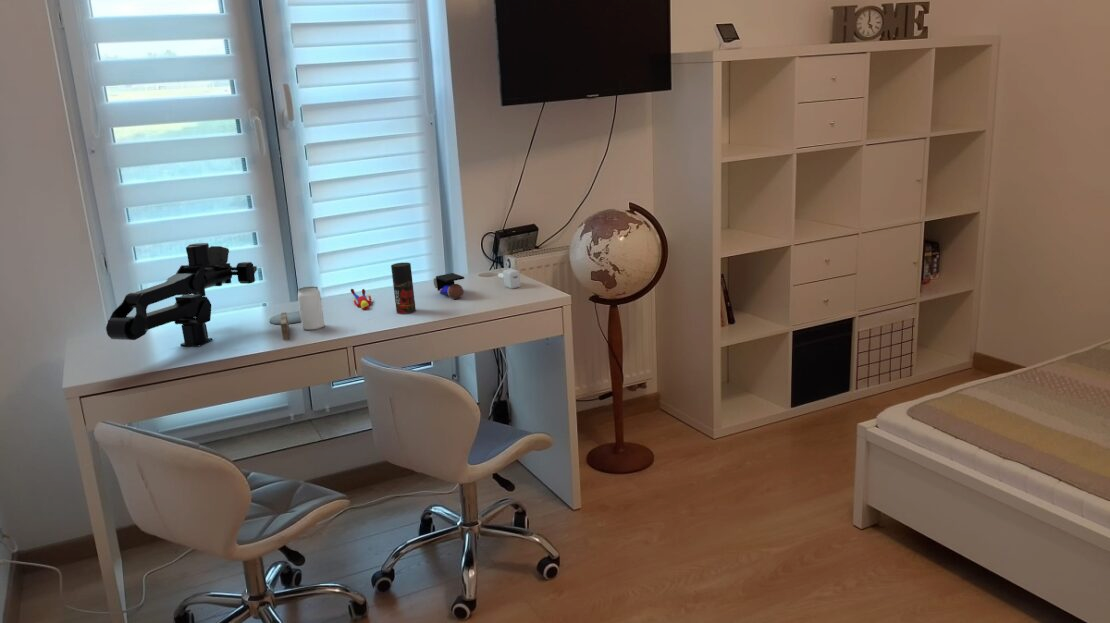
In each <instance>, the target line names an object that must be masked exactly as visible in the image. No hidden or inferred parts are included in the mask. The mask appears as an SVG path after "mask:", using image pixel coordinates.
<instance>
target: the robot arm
mask: <svg viewBox="0 0 1110 623" xmlns="http://www.w3.org/2000/svg"><path fill="white" fill-rule="evenodd" d="M185 250H186V255H187V261H188V264H187V265H180V266H179V268H178V269H177V271H176V272H175V274H173V275H171V276H170V277H168V278H167V279H166V281H165V282H162V283H159V284H156V285H153V286H150V287H147V288H144V289H142V290H138V291H135V292H129V293H127V294H126V295H125V296H124V299H123V300H122V302H121V303H120V305H119V306H117V307H116V309H115V310H113V312H112V313H111V315H110V317H109V319H108V320H107V323H106V327H105V331H106V335H107V336H108V337H109V338H110V339H111V340H119V341H121V340H124V341H127V340H128V341H136V340H138V339H141V337H143V336H145V335H146V334H147V332H148V331H149V330H151V329H154V328H158V327H160V326H163V325H168V324H170V323H173V322H174V324H175V325H181V331H182V336H183V341H184V342H182V343H180V347H201V346H203V345H205V344H207V343H209V342H211V341H213V340H214V338H213V337H209V334H208V329H207V328H208V327H207V323H208V322H210V321H211V318H212V303H211V301H210V300H209V298H208V296H206V289H208V288H213V287H222V286H223V284H232V278H233V276H237V280H238V282H239V283H240V284H242V285H243V284H247V285H248V284H254V283H255V282H256V278H255V274H256V272H257V271H258V268H257V266H256V265H255V266H254V263H253V262H251V261H245V262H244V261H243V262H237V264H236V266H235V267H233V266H232V265H231V263H230V262H228V260H229V253H230V249H229V248H227V247H224V246H220V245H219V246H218V245H215V246H214V245H211V246H210V244H209V242H201V243H199V242H198V243H191V244H188V245H187V246H186V247H185ZM173 297H174V298H175V302H174V304H173V305H169V306H165V307H163V308H159V309H156V310H152V311H149V312H147V310H148V307H149V306H150V305H153V304H155V303H159V302H161V301H164V300H167V299H169V298H173ZM134 309H135V312H136V313H135V316H134V315H133V316H128V315H129V314H130V313H131V312H132V311H133V310H134Z"/></svg>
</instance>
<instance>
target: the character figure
mask: <svg viewBox="0 0 1110 623" xmlns="http://www.w3.org/2000/svg"><path fill="white" fill-rule="evenodd" d="M361 292H362V295H361V296H359V295H358V294H357V293H356V292H355V289H354V288H351V289H350V293H351V294H352V295H353V296H354V298H353V303H354V305H355V306H356V307H357V308H361V309H362V310H363V311H367V310H369V308H370V305H371V304H372V297H371V295H370V294H369V293H367V294H366V289H364V288H362V289H361ZM366 295H367V296H368V299H367V297H366Z"/></svg>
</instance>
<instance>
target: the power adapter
mask: <svg viewBox="0 0 1110 623" xmlns="http://www.w3.org/2000/svg"><path fill="white" fill-rule="evenodd" d="M520 275H521V274H520V271H519V270H516V269H515V268H509V269H504V270H503V271H502V272H499V273H496V274H495V276H497V277H498V278H499V279H501V280H503V286H504V287H506V288H508V289H511V290H513V289H516V288H520V287H521V276H520Z"/></svg>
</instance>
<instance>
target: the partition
mask: <svg viewBox="0 0 1110 623" xmlns="http://www.w3.org/2000/svg"><path fill="white" fill-rule="evenodd" d="M287 313H288V312H286V311H285V312H281V313H280V314H281V325H280V326H281V327H280V328H281V333H282V340H288V339H289V337H290V336H289V334H290V333H289V332H290V331H289V324H288V320H287Z"/></svg>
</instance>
